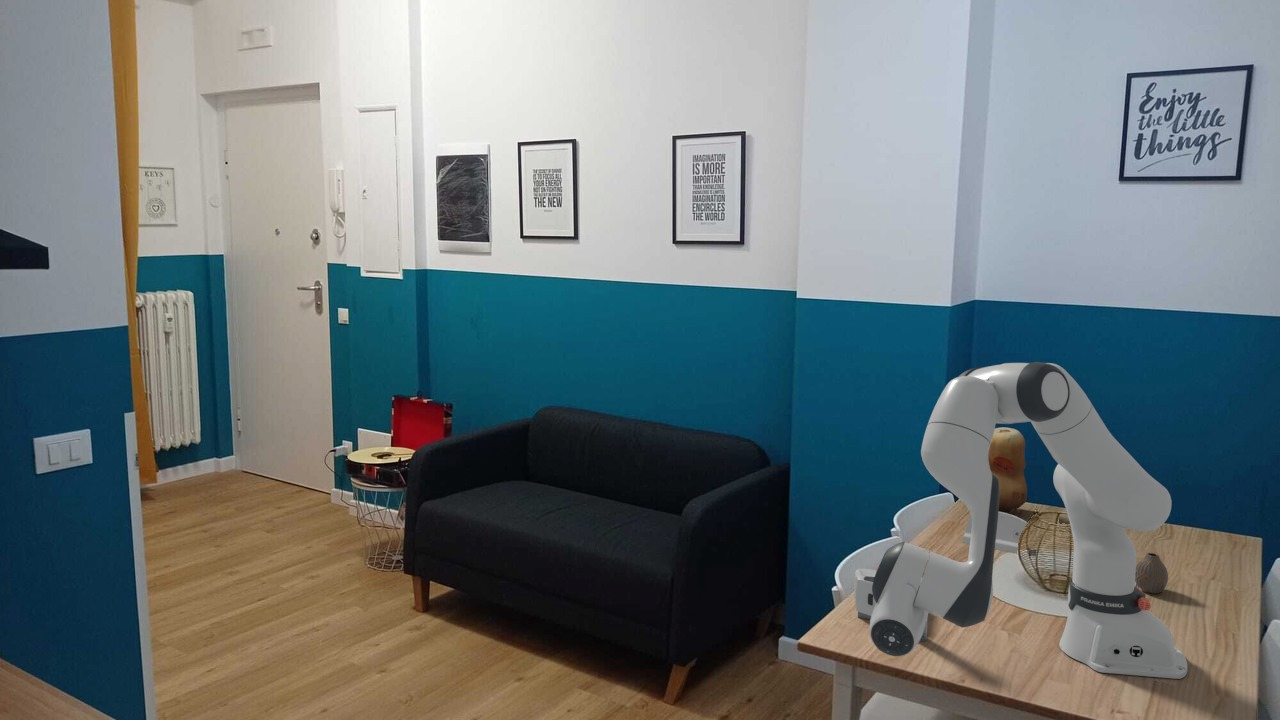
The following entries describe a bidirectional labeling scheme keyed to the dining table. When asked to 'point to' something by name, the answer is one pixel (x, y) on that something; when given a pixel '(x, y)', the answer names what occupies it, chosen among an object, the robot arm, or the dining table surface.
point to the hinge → (1003, 532)
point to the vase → (1151, 574)
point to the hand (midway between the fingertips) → (913, 575)
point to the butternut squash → (1008, 467)
